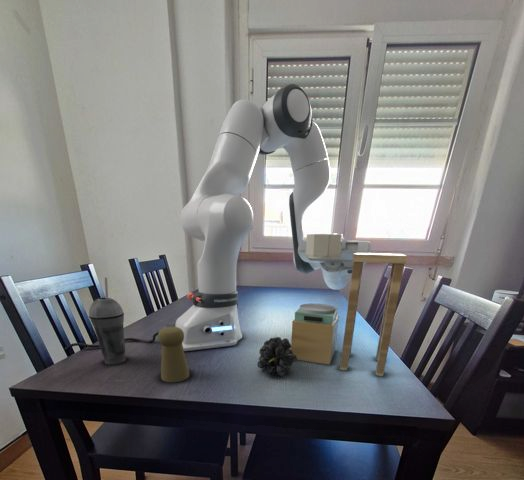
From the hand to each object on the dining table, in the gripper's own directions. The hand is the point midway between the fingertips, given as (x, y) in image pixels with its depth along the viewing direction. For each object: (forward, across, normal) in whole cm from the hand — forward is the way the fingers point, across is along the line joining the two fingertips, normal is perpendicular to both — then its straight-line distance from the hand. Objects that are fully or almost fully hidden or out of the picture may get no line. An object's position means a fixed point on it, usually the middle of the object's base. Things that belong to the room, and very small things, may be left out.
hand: (331, 236), depth 75 cm
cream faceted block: (+3, 0, +7) cm, 8 cm away
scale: (-5, 0, +31) cm, 32 cm away
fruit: (+5, -7, +37) cm, 38 cm away
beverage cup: (+15, -45, +43) cm, 64 cm away
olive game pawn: (+16, -26, +44) cm, 54 cm away
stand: (-4, +12, +32) cm, 34 cm away
